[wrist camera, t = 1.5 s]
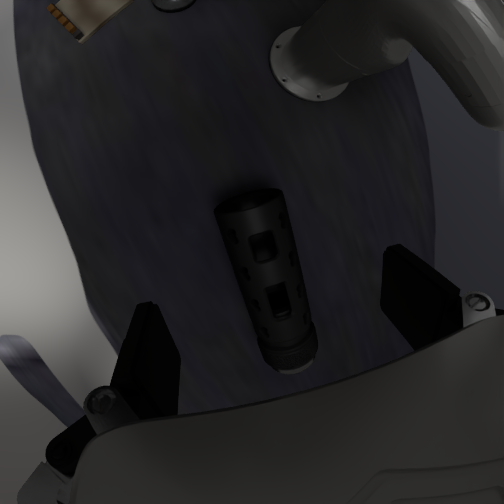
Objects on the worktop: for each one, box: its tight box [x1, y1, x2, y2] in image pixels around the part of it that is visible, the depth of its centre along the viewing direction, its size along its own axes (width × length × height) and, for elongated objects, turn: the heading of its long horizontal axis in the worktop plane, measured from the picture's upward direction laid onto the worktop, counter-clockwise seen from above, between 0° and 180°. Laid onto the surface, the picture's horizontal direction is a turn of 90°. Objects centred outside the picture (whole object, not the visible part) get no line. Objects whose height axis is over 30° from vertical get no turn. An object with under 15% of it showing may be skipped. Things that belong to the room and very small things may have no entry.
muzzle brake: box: [214, 188, 318, 374], centre depth 41 cm, size 10×28×10 cm, turn 16°
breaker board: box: [47, 0, 134, 44], centre depth 22 cm, size 10×12×4 cm
